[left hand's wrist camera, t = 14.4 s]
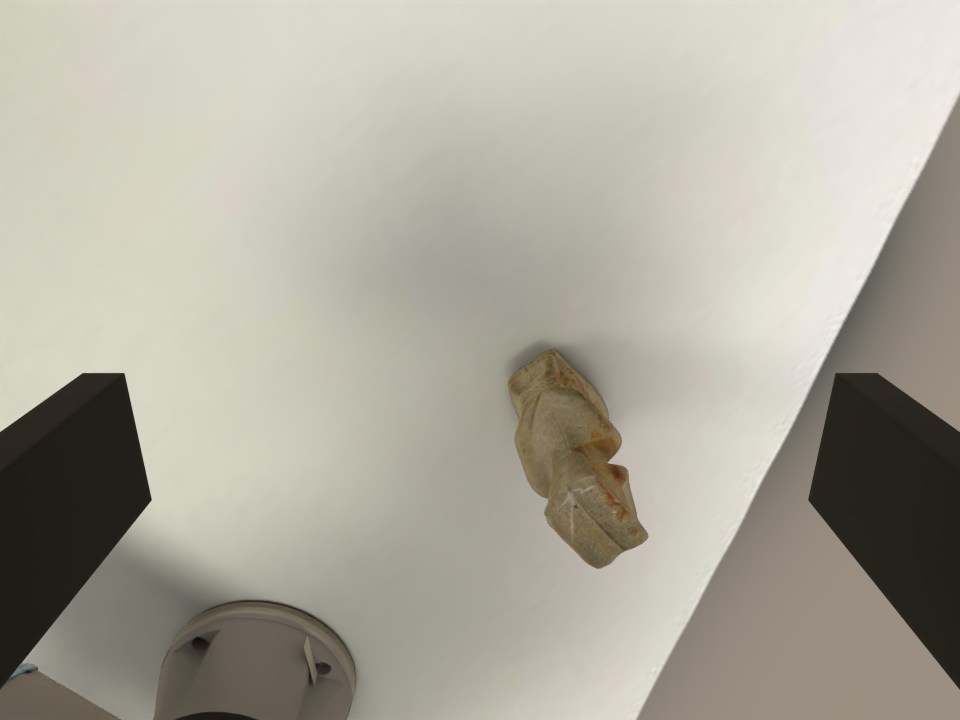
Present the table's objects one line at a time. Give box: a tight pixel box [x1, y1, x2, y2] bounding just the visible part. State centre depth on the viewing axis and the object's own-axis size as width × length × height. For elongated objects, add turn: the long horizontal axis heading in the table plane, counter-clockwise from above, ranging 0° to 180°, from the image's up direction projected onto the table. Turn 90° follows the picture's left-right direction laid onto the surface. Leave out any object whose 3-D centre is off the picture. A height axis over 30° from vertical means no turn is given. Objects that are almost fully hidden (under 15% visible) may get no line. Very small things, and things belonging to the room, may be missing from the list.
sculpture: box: [508, 349, 648, 569], centre depth 39 cm, size 6×7×15 cm
